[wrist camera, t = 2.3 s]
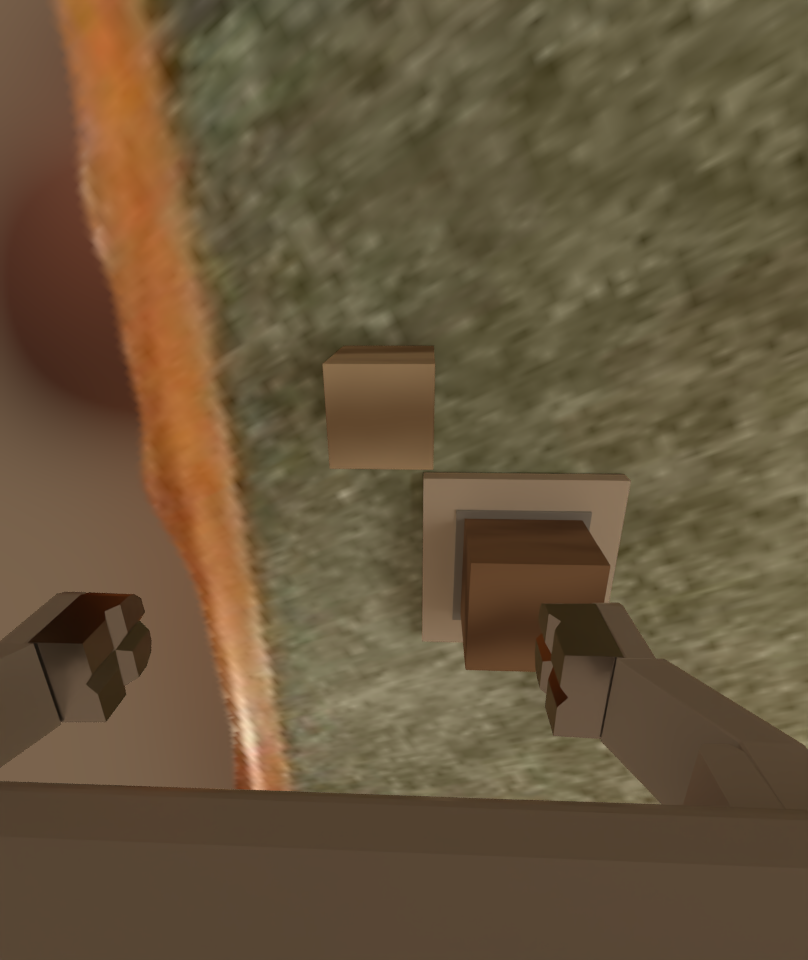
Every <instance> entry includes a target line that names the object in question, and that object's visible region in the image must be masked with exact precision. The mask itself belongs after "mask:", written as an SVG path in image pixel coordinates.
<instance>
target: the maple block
mask: <svg viewBox="0 0 808 960" xmlns="http://www.w3.org/2000/svg"><path fill="white" fill-rule="evenodd" d="M323 377H324V392H325V407H326V421H327V436H328V450H329V465H330V468H331V469H421V470H433V451H434V394H435V356H434V346H343V347H342V348H341V349H339V350H338V351H337V352H336V353H335V354H334V355H332V356H331V357H330V358H329V359H328V360H327V361H325V362H324V363H323Z"/></svg>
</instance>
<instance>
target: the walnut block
mask: <svg viewBox="0 0 808 960" xmlns="http://www.w3.org/2000/svg"><path fill="white" fill-rule="evenodd" d="M609 572H610V564H609V562H608V561H607V559H606V557H605V556H604V554H603V553H602V551H601V549H600V548H599V546H598V545H597V543H596V541H595V540H594V538H593V537H592V535H591V533H590V532H589V530H588V529H587V527H586V525H585V524H584V522H583V520H525V519H465V521H464V544H463V567H462V590H461V612H460V615H461V625H462V636H463V647H464V658H465V669H466V670H492V671H528V672H536V669H535V643H536V638H537V637H538V636H539V635H540V634H541V633H542V631H541V628H540V625H539V622H538V617H539V609H540V606H541V603H604V600H605V595H606V589H607V583H608V578H609Z"/></svg>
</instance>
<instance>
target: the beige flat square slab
mask: <svg viewBox="0 0 808 960" xmlns="http://www.w3.org/2000/svg"><path fill="white" fill-rule="evenodd" d="M630 483H631V480H630V479H629V478H628V477H627V476H626V475H625V474H536V473H438V472H424V479H423V600H422V641H434V642H463V636H462V625H461V615H460V612H461V590H462V567H463V544H464V521H465V519H525V520H583V522H584V524H585V525H586V527H587V529H588V530H589V532H590V533H591V535H592V537H593V538H594V540H595V541H596V543H597V545H598V546H599V548H600V549H601V551H602V553H603V554H604V556H605V557H606V559H607V561H608V562H609V564H610V572H609V578H608V583H607V589H606V595H605V600H604V603H609V599H610V593H611V588H612V582H613V577H614V571H615V566H616V560H617V555H618V549H619V544H620V538H621V533H622V527H623V522H624V516H625V510H626V505H627V499H628V494H629V488H630Z"/></svg>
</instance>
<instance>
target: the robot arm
mask: <svg viewBox="0 0 808 960" xmlns="http://www.w3.org/2000/svg"><path fill="white" fill-rule="evenodd" d="M144 613H145V610H144V607H143V604H142V600H141V598H140V597H138V596H136V595H135V594H114V593H91V592H89V593H86V592H63V593H59V594H56V595H55V596H54V597H52V598H51V599H50V600H49V601H48V602H47V603H45V604H44V605H43V606H42V607H40V608H39V609H38V610H37V611H36V612H35V613H33V614H32V615H31V616H30V617H28V618H27V619H26V620H25V621H24V622H22V623H21V624H20V625H19V626H18V627H16V628H15V629H14V630H13V631H12V632H10V633H9V634H8V635H7V636H6V637H4V638H3V639H2V640H1V641H0V768H1V767H2V766H3V765H5V764H6V763H7V762H9V761H10V760H12V759H13V758H15V757H16V756H17V755H19V754H20V753H22V752H23V751H24V750H26V749H27V748H29V747H30V746H31V745H33V744H34V743H36V742H37V741H38V740H40V739H41V738H43V737H44V736H46V735H47V734H48V733H50V732H51V731H53V730H54V729H55V728H57V727H58V726H60V725H61V722H106V721H107V720H108V719H109V717H110V716H111V715H112V713H113V712H114V711H115V709H116V708H117V707H118V705H119V704H120V702H121V701H122V700H123V698H124V697H125V695H126V690H125V685H127V684H129V683H130V682H132V681H133V680H135V679H137V678H138V677H139V676H140V675H141V673H142V672H143V670H144V669H145V668H146V666H147V663H148V660H149V657H150V653H151V637H150V631H149V629H148V628H146V627H145V625H143V623H141V622H140V619H141V618H142V616H143V614H144ZM538 622H539V625H540V628H541V631H542V633H541V634H540V635H539V636H538V637H537V638H536V643H535V669H536V675H537V680H538V684H539V687H540V689H541V690H543V691H544V692H545V693H546V701H545V709H546V712H547V716H548V719H549V723H550V726H551V729H552V733H553V736H565V737H582V738H599V739H601V742H602V743H603V744H604V745H605V746H606V747H607V748H608V749H609V750H610V751H611V752H612V753H613V754H614V755H615V756H616V757H617V758H618V759H619V760H620V761H621V762H622V763H623V764H624V765H625V767H626V768H627V769H628V770H629V771H630V772H631V773H632V774H633V775H634V776H635V777H636V778H637V779H638V780H639V781H640V782H641V783H642V784H643V785H644V786H645V787H646V788H647V789H648V790H649V791H650V792H651V793H652V795H653V796H654V797H655V798H656V799H657V800H658V801H659V802H660V803H661V804H634V803H606V802H575V801H544V800H512V799H484V798H458V797H431V796H405V795H379V794H352V793H325V792H296V791H267V790H238V789H209V788H180V787H179V788H178V787H150V786H122V785H94V784H64V783H38V782H9V781H0V960H808V749H807V748H806V747H805V746H804V745H803V744H802V743H800V742H798V741H797V740H795V739H793V738H792V737H790V736H789V735H787V734H785V733H784V732H782V731H780V730H779V729H777V728H776V727H774V726H772V725H771V724H769V723H767V722H766V721H764V720H763V719H761V718H759V717H758V716H756V715H754V714H753V713H751V712H750V711H748V710H746V709H745V708H743V707H741V706H740V705H738V704H737V703H735V702H733V701H732V700H730V699H729V698H727V697H725V696H724V695H722V694H720V693H719V692H717V691H716V690H714V689H712V688H711V687H709V686H707V685H706V684H704V683H703V682H701V681H699V680H698V679H696V678H694V677H693V676H691V675H690V674H688V673H686V672H685V671H683V670H681V669H680V668H678V667H677V666H675V665H673V664H672V663H670V662H668V661H667V660H665V659H656V658H655V656H654V654H653V653H652V651H651V650H650V648H649V646H648V645H647V643H646V642H645V640H644V639H643V637H642V635H641V634H640V632H639V631H638V629H637V627H636V626H635V624H634V623H633V621H632V619H631V618H630V616H629V615H628V613H627V611H626V610H625V608H624V607H623V605H621V604H620V603H541V606H540V609H539V617H538Z"/></svg>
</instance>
